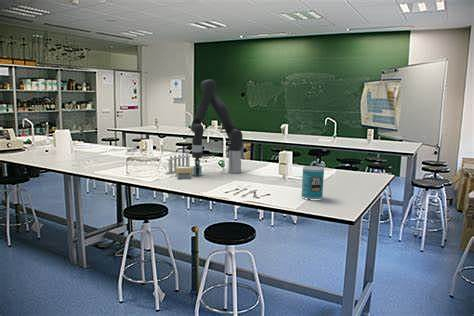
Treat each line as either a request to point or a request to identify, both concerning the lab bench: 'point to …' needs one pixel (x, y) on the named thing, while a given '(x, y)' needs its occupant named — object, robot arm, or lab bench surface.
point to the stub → (195, 170)
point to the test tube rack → (178, 162)
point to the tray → (184, 175)
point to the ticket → (184, 170)
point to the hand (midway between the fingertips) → (197, 173)
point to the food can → (312, 182)
